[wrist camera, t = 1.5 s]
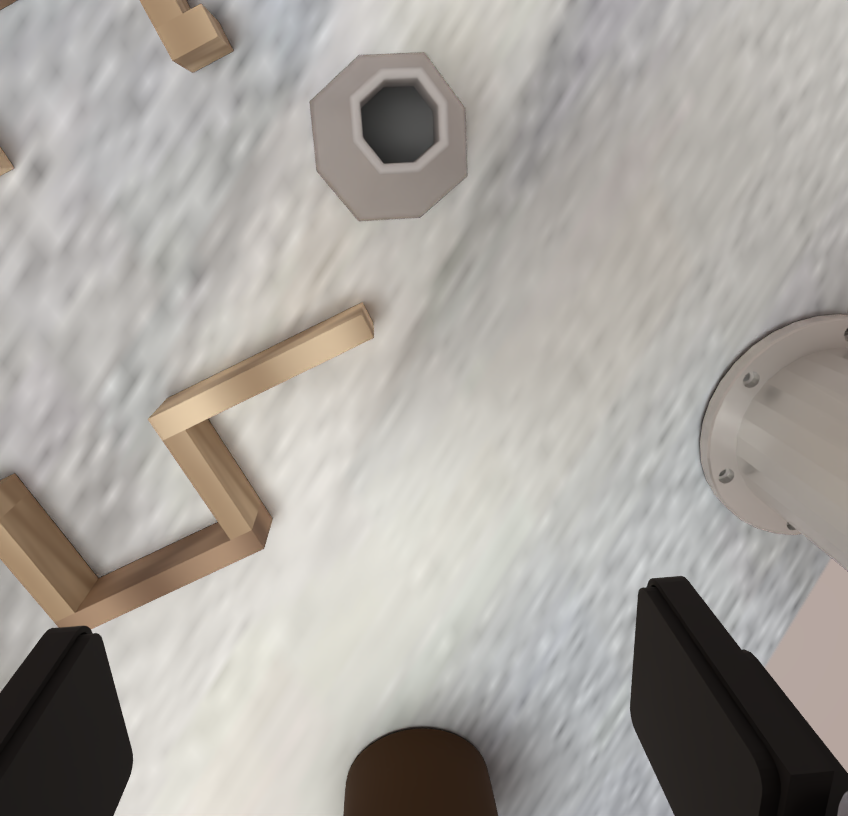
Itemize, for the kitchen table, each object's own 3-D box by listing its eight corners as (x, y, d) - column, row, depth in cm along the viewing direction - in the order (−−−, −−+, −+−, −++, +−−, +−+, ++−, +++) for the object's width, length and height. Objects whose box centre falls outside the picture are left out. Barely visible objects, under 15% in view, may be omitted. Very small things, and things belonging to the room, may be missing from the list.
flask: (435, 22, 28) (469, -57, 18) (490, 187, 30) (545, 191, 21) (282, 89, 28) (238, 44, 19) (348, 246, 31) (340, 275, 21)
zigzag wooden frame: (148, -116, 25) (120, -153, 23) (434, 442, 34) (440, 466, 31) (-330, 153, 27) (-411, 150, 24) (61, 617, 36) (36, 654, 33)
